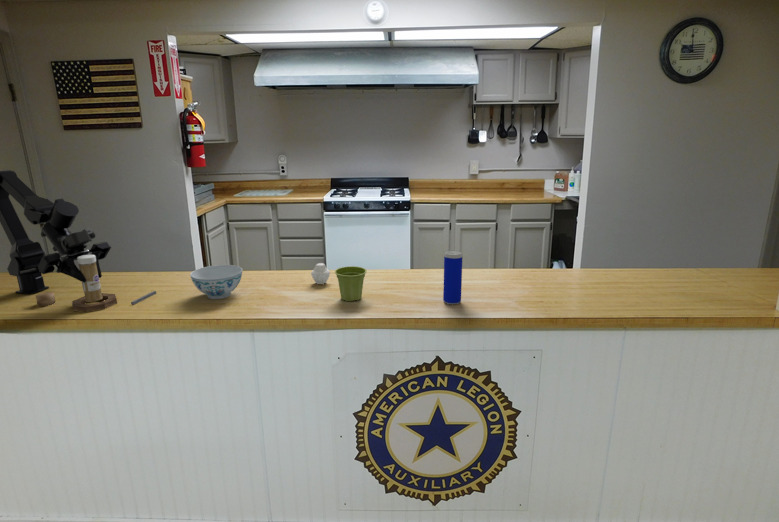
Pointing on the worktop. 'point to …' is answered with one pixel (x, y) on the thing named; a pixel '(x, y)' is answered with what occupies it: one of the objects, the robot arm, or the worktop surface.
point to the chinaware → (217, 280)
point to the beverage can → (452, 277)
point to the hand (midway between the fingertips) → (93, 279)
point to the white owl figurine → (320, 273)
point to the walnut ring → (81, 306)
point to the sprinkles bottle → (90, 278)
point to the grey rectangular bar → (143, 297)
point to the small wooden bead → (45, 299)
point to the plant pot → (350, 282)
